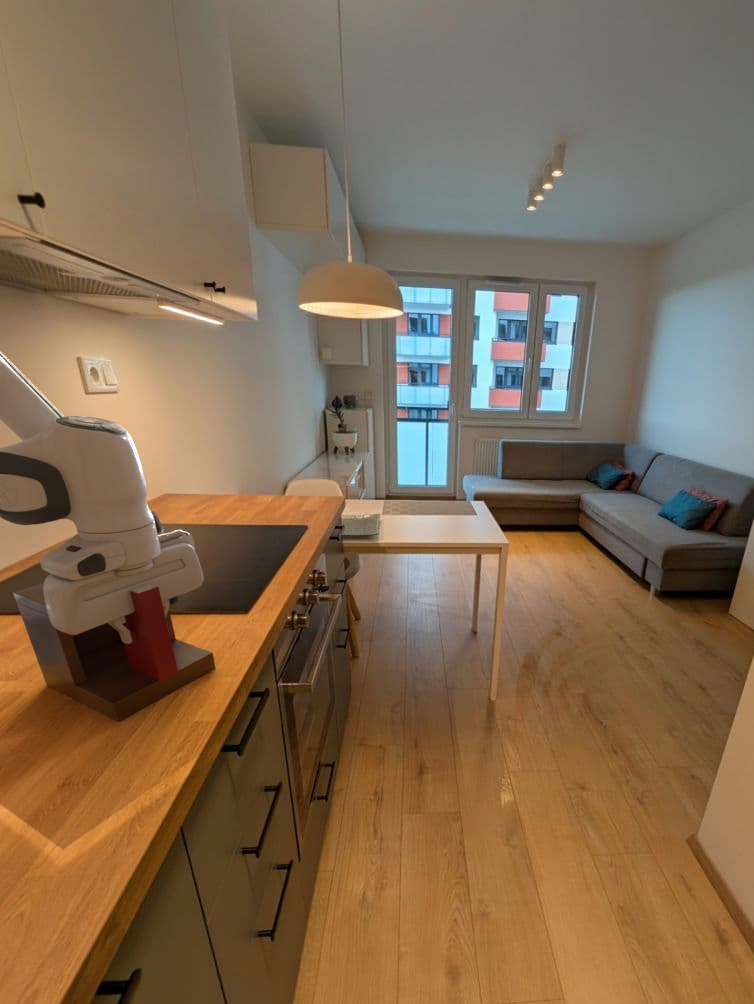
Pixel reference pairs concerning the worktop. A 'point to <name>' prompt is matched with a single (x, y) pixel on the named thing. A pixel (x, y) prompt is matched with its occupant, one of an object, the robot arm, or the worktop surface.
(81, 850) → the worktop surface
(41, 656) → the shelf
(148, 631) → the book
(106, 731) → the worktop surface
